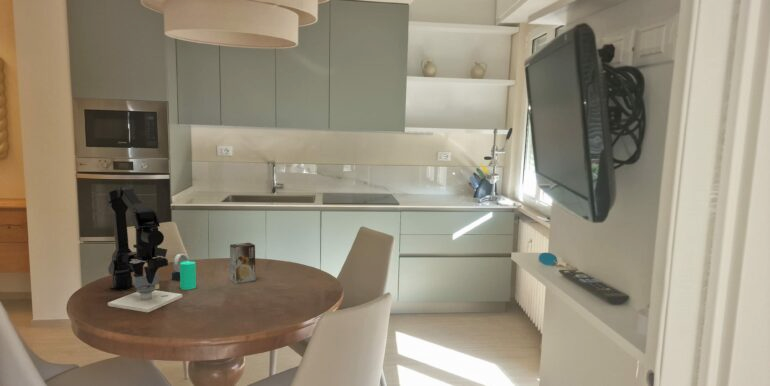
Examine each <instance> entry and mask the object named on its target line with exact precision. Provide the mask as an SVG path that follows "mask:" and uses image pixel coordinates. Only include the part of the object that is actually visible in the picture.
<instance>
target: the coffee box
mask: <svg viewBox="0 0 770 386" xmlns="http://www.w3.org/2000/svg"><path fill="white" fill-rule="evenodd" d="M229 261H230V263H229V264H230V265H229V266H230V267H229V268H230V269H229V270H230V281H231V282H232V283H234V284H235V285H237V284H241V283H248V282H253V281H256V280H257V278H256V276H257V275H256V274H257V273H256V244H254V243H252V242H241V243H235V244H234V243H233V244H229Z"/></svg>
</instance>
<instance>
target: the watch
mask: <svg viewBox="0 0 770 386" xmlns="http://www.w3.org/2000/svg"><path fill="white" fill-rule="evenodd" d="M187 259H188V260H187ZM185 261H190V257H189V256H188V255H187V254H185V253H177V254H176V255H175V257H174V259H173V265H172V266H173V269H174V271H173V272H171V280H172V281H180V263H181V262H185Z"/></svg>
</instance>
